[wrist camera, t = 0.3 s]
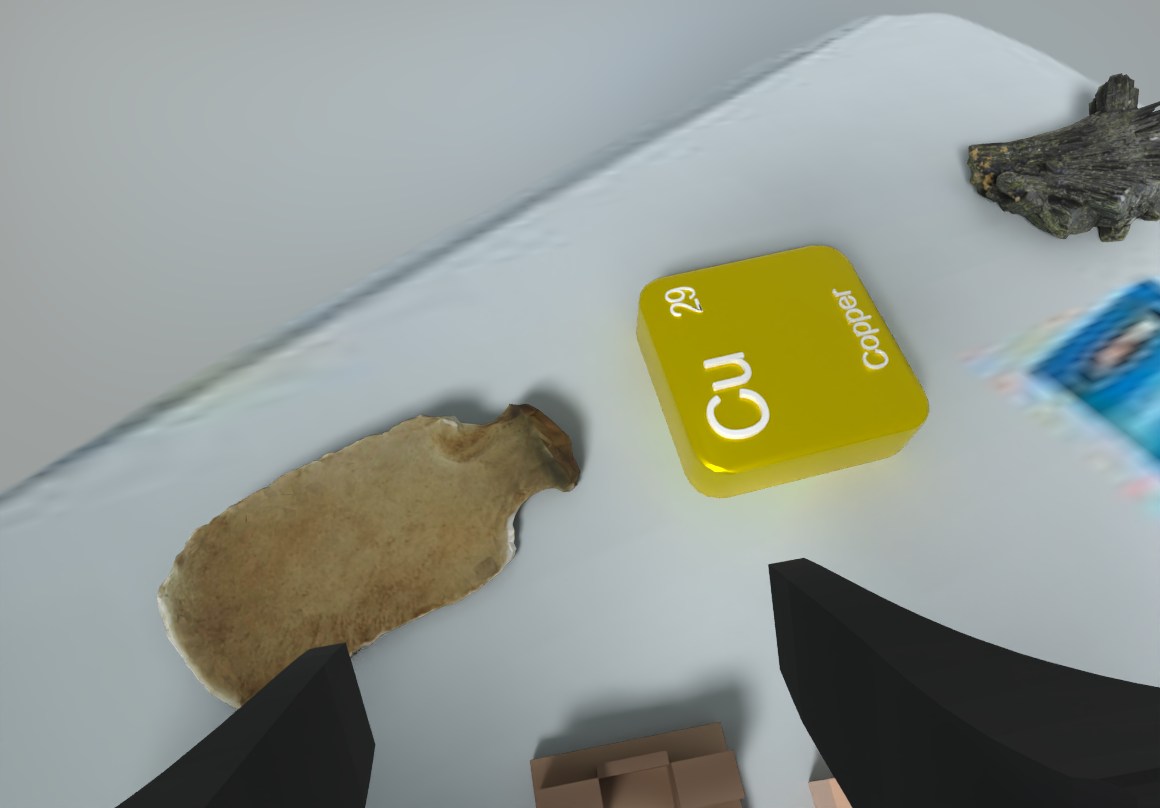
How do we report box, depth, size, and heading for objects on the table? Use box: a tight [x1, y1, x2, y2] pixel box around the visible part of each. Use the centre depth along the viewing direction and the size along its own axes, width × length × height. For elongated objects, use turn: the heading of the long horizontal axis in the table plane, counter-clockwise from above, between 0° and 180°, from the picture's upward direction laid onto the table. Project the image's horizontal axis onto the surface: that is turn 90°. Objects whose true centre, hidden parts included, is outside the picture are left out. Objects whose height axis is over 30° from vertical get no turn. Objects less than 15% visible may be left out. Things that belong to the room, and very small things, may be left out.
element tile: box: [636, 245, 929, 498], centre depth 47 cm, size 15×15×5 cm
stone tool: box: [157, 404, 580, 709], centre depth 42 cm, size 12×4×25 cm
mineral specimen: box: [967, 74, 1160, 242], centre depth 53 cm, size 15×13×10 cm
